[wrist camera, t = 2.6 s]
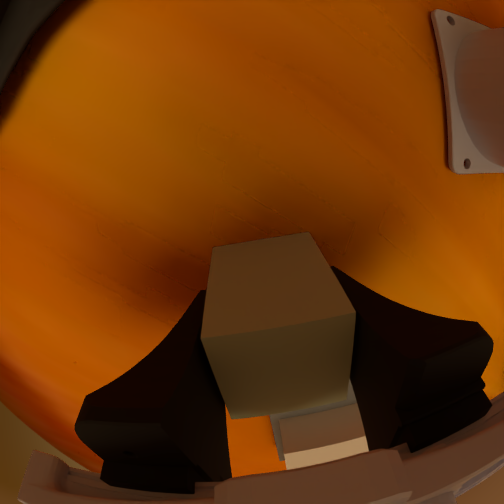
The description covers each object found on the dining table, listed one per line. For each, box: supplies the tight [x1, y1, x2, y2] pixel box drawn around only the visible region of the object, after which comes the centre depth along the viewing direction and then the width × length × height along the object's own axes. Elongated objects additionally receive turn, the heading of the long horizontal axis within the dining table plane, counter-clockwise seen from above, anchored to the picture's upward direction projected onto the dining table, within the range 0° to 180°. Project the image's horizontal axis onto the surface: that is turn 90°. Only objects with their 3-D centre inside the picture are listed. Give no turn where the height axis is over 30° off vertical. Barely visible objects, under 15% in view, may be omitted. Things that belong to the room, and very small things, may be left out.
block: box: [201, 232, 356, 419], centre depth 10 cm, size 4×4×6 cm
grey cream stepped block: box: [270, 378, 369, 470], centre depth 16 cm, size 8×10×4 cm
